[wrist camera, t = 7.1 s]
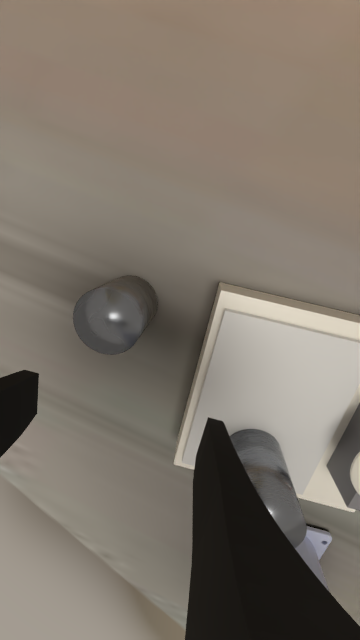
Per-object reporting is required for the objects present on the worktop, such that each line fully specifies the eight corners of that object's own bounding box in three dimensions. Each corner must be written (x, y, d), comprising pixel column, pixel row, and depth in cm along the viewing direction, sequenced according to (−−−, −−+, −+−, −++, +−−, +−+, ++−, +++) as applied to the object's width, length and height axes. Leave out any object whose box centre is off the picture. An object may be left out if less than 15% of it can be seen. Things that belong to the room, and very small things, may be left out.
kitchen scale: (342, 479, 22) (391, 569, 16) (178, 436, 23) (166, 507, 17) (427, 331, 18) (538, 379, 12) (219, 282, 18) (223, 304, 12)
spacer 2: (269, 480, 19) (289, 563, 14) (215, 465, 19) (217, 542, 14) (290, 438, 17) (319, 513, 13) (232, 422, 18) (240, 490, 13)
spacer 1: (152, 332, 20) (134, 361, 15) (103, 320, 20) (70, 345, 16) (162, 282, 19) (146, 297, 14) (109, 270, 19) (76, 280, 14)
